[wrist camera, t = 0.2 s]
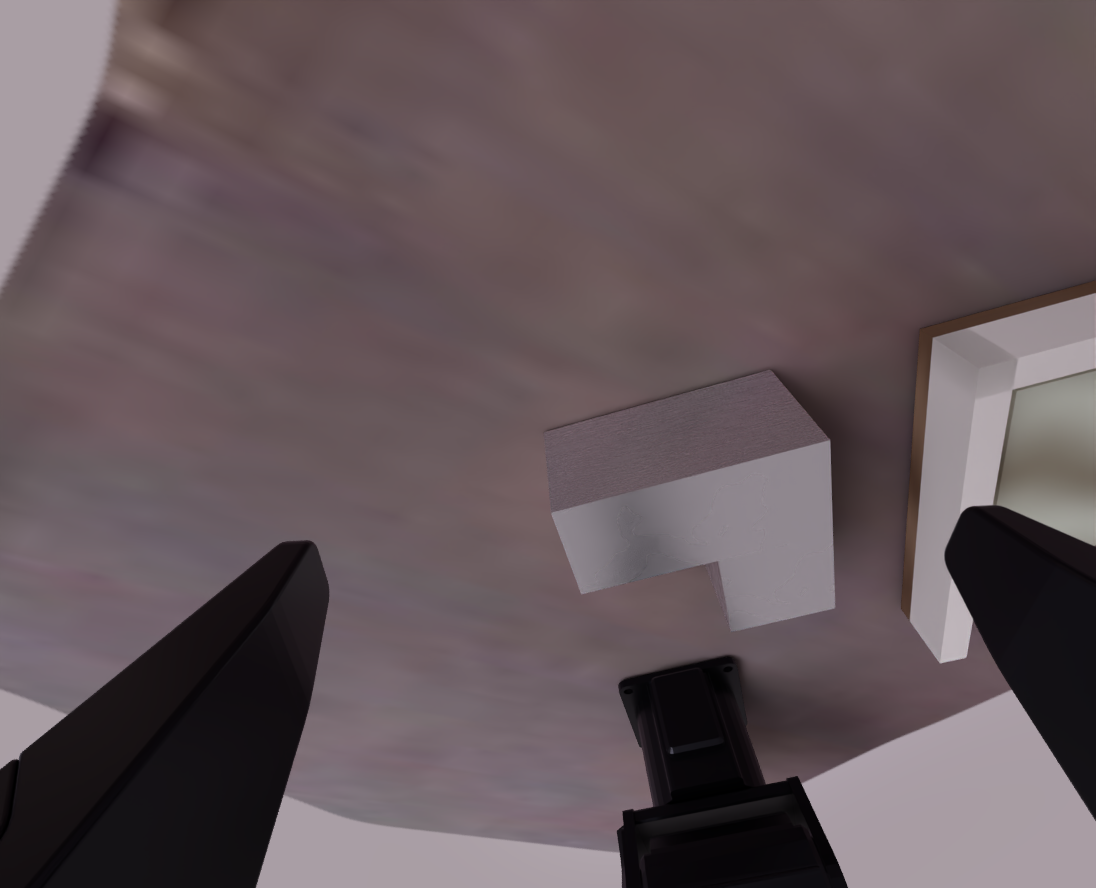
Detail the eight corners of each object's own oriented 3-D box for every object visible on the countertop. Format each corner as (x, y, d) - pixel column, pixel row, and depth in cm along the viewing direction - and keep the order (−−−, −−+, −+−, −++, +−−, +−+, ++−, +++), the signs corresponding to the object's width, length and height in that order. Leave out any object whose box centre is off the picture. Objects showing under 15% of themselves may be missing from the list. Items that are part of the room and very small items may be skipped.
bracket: (770, 369, 22) (830, 440, 18) (783, 522, 27) (834, 608, 23) (543, 432, 23) (551, 512, 19) (591, 570, 28) (606, 660, 24)
